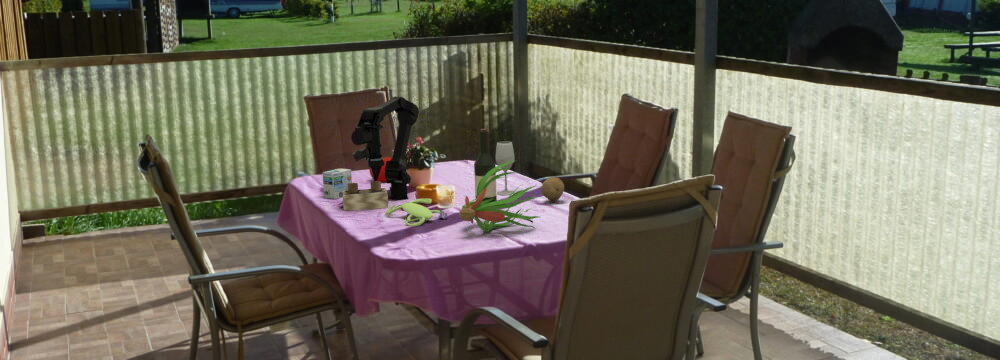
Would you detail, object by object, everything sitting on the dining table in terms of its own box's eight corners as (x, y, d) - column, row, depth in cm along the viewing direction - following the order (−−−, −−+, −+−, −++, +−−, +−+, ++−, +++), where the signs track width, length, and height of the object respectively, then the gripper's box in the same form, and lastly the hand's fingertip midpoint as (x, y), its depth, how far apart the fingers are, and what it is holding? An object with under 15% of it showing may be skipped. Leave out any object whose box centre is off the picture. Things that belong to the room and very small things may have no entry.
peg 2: (381, 195, 421) (380, 180, 420) (382, 197, 417) (381, 182, 416) (371, 196, 420) (370, 181, 419) (371, 198, 416) (370, 183, 415)
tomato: (365, 183, 466) (364, 158, 464) (377, 177, 479) (376, 153, 477) (390, 184, 463) (389, 159, 461) (402, 178, 475) (400, 154, 473)
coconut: (560, 205, 409) (560, 179, 407) (538, 204, 412) (537, 178, 410) (567, 200, 418) (566, 175, 416) (545, 199, 421) (544, 174, 419)
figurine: (426, 208, 413) (425, 194, 412) (456, 221, 390) (455, 206, 389) (381, 215, 404) (380, 200, 403) (409, 228, 381) (408, 213, 380)
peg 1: (358, 197, 419) (357, 182, 418) (358, 199, 416) (358, 184, 414) (348, 197, 419) (347, 183, 418) (348, 199, 415) (347, 185, 414)
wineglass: (516, 191, 438) (514, 140, 434) (514, 195, 431) (513, 143, 427) (497, 191, 439) (496, 141, 435) (496, 195, 431) (494, 144, 427)
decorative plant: (447, 249, 370) (500, 229, 393) (502, 244, 354) (554, 223, 376) (430, 177, 367) (485, 160, 390) (485, 168, 351) (539, 151, 374)
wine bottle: (494, 208, 407) (491, 130, 402) (473, 208, 409) (470, 130, 403) (499, 203, 415) (496, 127, 410) (478, 203, 417) (475, 127, 411)
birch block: (386, 202, 425) (385, 187, 424) (388, 207, 415) (387, 191, 414) (343, 205, 422) (342, 190, 421) (344, 211, 412) (343, 195, 411)
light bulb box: (334, 199, 435) (333, 173, 433) (323, 197, 439) (321, 172, 437) (353, 194, 443) (351, 169, 441) (342, 193, 447) (340, 167, 445)
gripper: (351, 139, 422) (353, 177, 425) (353, 146, 404) (356, 186, 407) (379, 137, 424) (381, 175, 427) (383, 144, 406) (385, 184, 409)
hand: (375, 180), depth 418 cm, fingers closed
